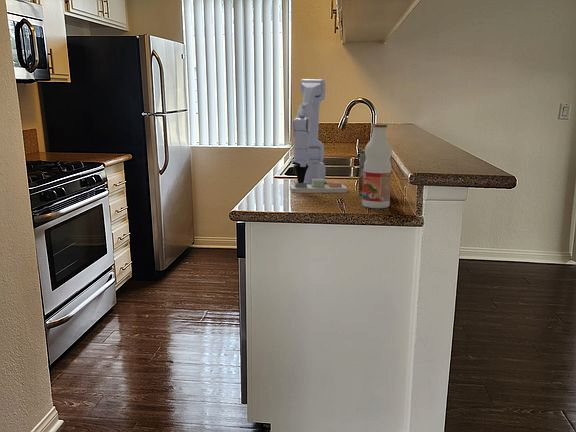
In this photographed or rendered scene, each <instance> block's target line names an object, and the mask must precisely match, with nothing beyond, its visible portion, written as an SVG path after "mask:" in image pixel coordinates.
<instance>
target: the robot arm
mask: <svg viewBox="0 0 576 432" xmlns="http://www.w3.org/2000/svg"><path fill="white" fill-rule="evenodd" d="M299 89H300V93H301V95H302V98H303V99H302V103H301V104H299V106H298V110H297V113H296V117H295V118H293V120H292V133H293V135H292V136H293V138H294V139H293V141H294V142H293V143H294V144H293V159H290V162H291V163H296V164H293V167H294V170H295V174H296V180H297V182H298V183H304V182H306V183H307V184H312V179H324V183H327V180H326V172H327V171H326V164H325V163H324V162H323V161H324V158H325V145H324V143H323V142H322V141H320V140H319V126H320V125H319V124H320V123H319V121H320V105H321V102H322V101H323V100H325V97H326V80H325V79H324V78H319V79H318V78H316V79H315V78H301V80H300V88H299Z"/></svg>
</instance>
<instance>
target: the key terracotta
mask: <svg viewBox="0 0 576 432" xmlns="http://www.w3.org/2000/svg"><path fill="white" fill-rule="evenodd" d="M328 184H329V187H342V184H343V183H342V182H341V181H328Z"/></svg>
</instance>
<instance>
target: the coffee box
mask: <svg viewBox="0 0 576 432" xmlns="http://www.w3.org/2000/svg"><path fill="white" fill-rule="evenodd" d="M365 160H366V156H365V151H364V152H361V153H359V168H358V170H359V171H358V172H359V173H358V196H362V192H363V169H364V162H365Z"/></svg>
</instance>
